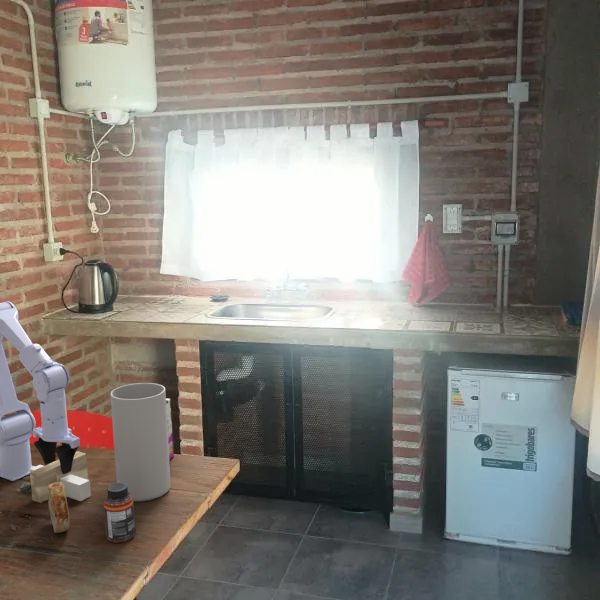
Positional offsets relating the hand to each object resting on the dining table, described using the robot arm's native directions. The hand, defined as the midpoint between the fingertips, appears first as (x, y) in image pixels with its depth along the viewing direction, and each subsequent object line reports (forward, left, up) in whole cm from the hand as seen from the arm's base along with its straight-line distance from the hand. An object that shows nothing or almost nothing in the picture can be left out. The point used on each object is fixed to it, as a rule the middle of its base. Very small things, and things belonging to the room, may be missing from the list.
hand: (58, 469), depth 161 cm
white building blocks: (0, 0, -5) cm, 5 cm away
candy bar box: (+10, +23, -5) cm, 26 cm away
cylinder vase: (+18, +10, -5) cm, 21 cm away
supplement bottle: (+29, -8, -5) cm, 31 cm away
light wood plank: (0, 0, -5) cm, 5 cm away
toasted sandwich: (+15, -12, -5) cm, 20 cm away
